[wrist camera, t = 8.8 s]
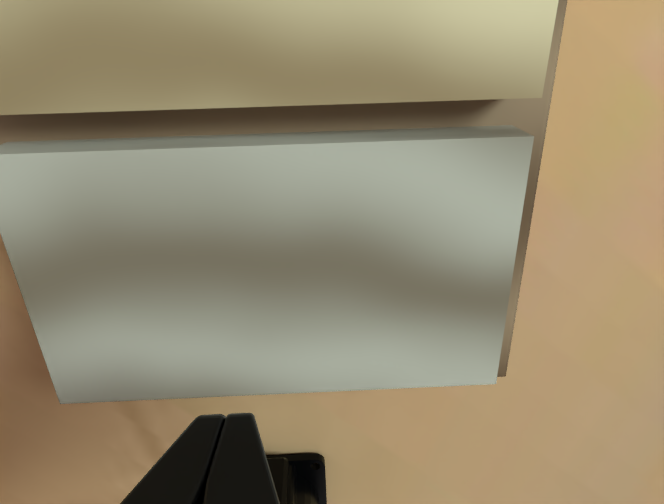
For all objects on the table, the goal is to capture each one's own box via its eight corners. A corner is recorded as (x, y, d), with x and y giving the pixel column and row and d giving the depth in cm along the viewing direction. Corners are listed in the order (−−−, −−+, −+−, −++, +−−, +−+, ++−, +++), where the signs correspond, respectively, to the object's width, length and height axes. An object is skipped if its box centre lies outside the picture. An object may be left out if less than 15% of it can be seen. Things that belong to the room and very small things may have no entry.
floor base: (465, 303, 22) (521, 405, 16) (112, 318, 22) (37, 428, 16) (559, -545, 12) (811, -1128, 6) (-115, -545, 11) (-583, -1167, 5)
